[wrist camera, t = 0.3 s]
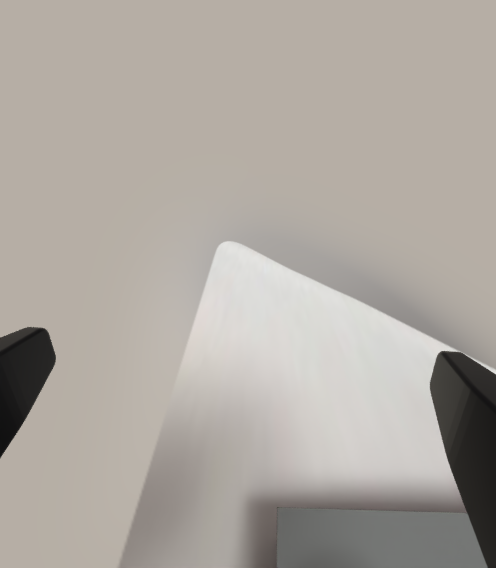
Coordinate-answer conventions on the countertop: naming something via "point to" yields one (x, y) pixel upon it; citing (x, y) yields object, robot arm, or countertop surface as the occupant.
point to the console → (375, 539)
